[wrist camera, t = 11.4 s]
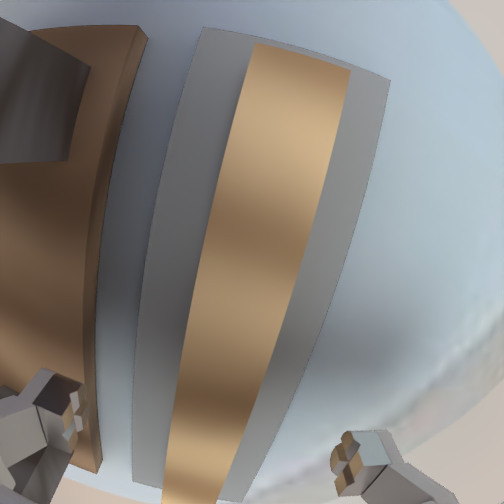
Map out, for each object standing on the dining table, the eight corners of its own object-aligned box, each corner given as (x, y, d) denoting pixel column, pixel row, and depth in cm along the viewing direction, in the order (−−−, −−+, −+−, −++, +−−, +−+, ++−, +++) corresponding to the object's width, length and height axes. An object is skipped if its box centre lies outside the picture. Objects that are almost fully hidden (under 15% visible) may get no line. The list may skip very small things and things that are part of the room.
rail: (252, 70, 11) (255, 42, 8) (327, 91, 11) (351, 70, 8) (166, 481, 17) (159, 514, 14) (209, 489, 17) (207, 523, 14)
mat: (205, 34, 11) (203, 27, 10) (383, 84, 12) (390, 80, 11) (134, 473, 18) (132, 481, 17) (241, 494, 18) (241, 502, 17)
